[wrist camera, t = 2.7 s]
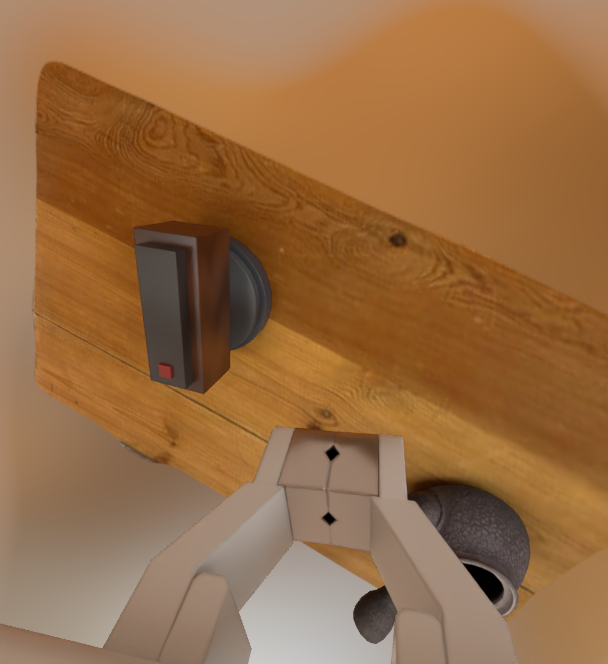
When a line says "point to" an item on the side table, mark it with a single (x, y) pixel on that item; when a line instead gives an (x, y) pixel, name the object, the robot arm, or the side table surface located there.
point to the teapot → (462, 551)
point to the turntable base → (261, 283)
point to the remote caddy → (192, 302)
